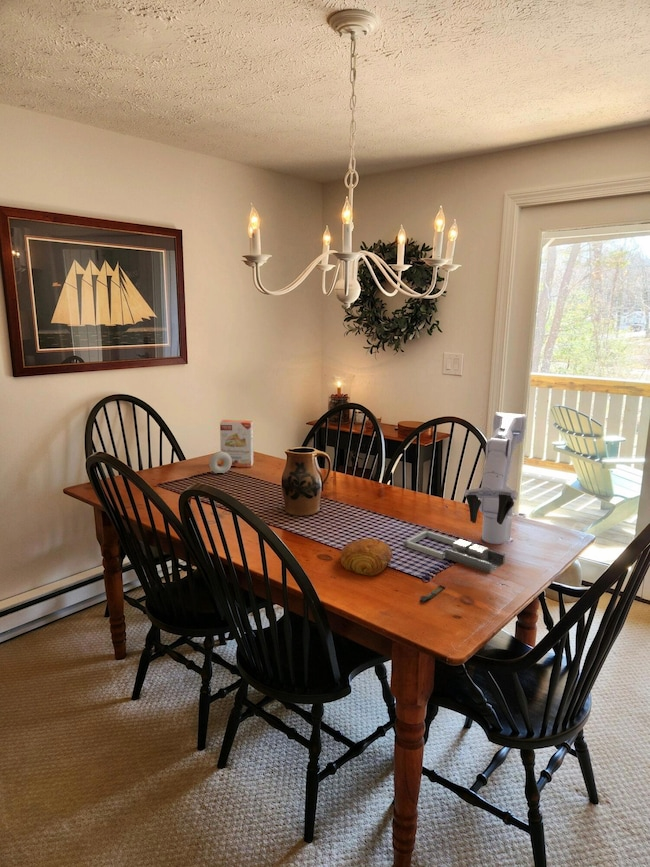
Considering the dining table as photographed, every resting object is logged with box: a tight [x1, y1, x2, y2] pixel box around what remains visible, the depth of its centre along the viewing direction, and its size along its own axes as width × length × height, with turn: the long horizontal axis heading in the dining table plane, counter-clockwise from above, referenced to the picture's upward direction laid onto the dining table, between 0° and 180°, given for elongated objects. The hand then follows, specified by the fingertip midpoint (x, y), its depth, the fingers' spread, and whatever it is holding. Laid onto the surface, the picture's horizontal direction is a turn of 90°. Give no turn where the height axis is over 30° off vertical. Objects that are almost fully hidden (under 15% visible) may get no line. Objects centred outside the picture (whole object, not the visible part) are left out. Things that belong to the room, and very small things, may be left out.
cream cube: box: [468, 543, 489, 561], centre depth 159 cm, size 4×4×4 cm
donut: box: [208, 450, 232, 474], centre depth 242 cm, size 10×4×10 cm, turn 118°
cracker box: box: [219, 419, 254, 468], centre depth 254 cm, size 14×6×21 cm, turn 86°
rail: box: [444, 543, 506, 574], centre depth 160 cm, size 9×14×4 cm, turn 47°
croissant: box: [339, 538, 393, 577], centre depth 159 cm, size 14×16×8 cm
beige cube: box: [451, 538, 473, 555], centre depth 163 cm, size 4×4×4 cm
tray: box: [403, 530, 458, 560], centre depth 169 cm, size 12×13×2 cm
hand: (485, 522), depth 153 cm, fingers open, 7 cm apart
